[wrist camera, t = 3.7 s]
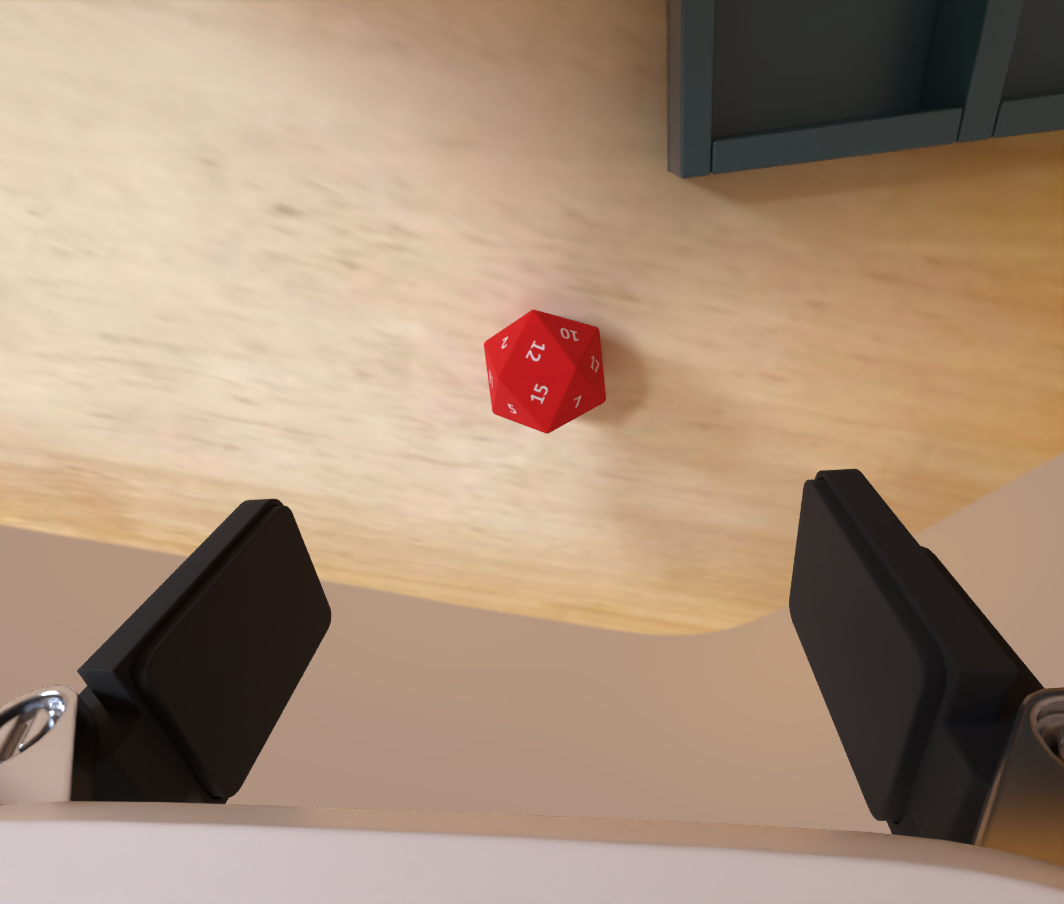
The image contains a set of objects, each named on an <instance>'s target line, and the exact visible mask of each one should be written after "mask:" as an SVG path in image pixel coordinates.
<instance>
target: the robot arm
mask: <svg viewBox="0 0 1064 904" xmlns="http://www.w3.org/2000/svg"><path fill="white" fill-rule="evenodd" d="M789 608H790V614H791V619H792V622H793V624H794V627H795V629H796V632H797V634H798V636H799V639H800V641H801V644H802V646H803V649H804V651H805V653H806V656H807V658H808V661H809V663H810V666H811V668H812V671H813V673H814V676H815V678H816V681H817V683H818V686H819V688H820V690H821V693H822V695H823V698H824V700H825V703H826V705H827V708H828V710H829V712H830V715H831V717H832V720H833V722H834V725H835V727H836V730H837V732H838V734H839V737H840V739H841V742H842V744H843V747H844V749H845V752H846V754H847V757H848V759H849V761H850V764H851V766H852V769H853V771H854V774H855V776H856V779H857V781H858V783H859V786H860V788H861V791H862V793H863V796H864V798H865V800H866V803H867V805H868V808H869V809H870V812H871V814H872V815H873V816H874V818H875V819H876V820H878V821H887V823H888V826H889V828H890V830H891V832H892V834H882V833H873V832H860V831H843V830H827V829H810V828H794V827H777V826H776V827H775V826H761V825H744V824H725V823H703V822H702V823H701V822H679V821H657V820H656V821H655V820H632V819H610V818H587V817H564V816H541V815H516V814H489V813H464V812H437V811H410V810H382V809H355V808H329V807H328V808H327V807H298V806H265V805H234V804H226V802H227V800H228V798H229V797H232V796H234V795H235V794H236V793H237V792H238V791H239V789H240V788H241V786H242V785H243V783H244V781H245V779H246V777H247V775H248V774H249V772H250V770H251V768H252V766H253V765H254V763H255V761H256V759H257V757H258V755H259V754H260V752H261V750H262V748H263V746H264V745H265V743H266V741H267V739H268V737H269V735H270V734H271V732H272V730H273V728H274V726H275V725H276V723H277V721H278V719H279V717H280V715H281V714H282V712H283V710H284V708H285V706H286V705H287V703H288V701H289V699H290V697H291V695H292V694H293V692H294V690H295V688H296V686H297V684H298V683H299V681H300V679H301V677H302V676H303V673H304V672H305V670H306V668H307V666H308V665H309V662H310V661H311V659H312V657H313V656H314V654H315V652H316V650H317V648H318V647H319V645H320V642H321V641H322V639H323V637H324V636H325V634H326V632H327V630H328V628H329V626H330V622H331V609H330V606H329V604H328V601H327V599H326V596H325V594H324V591H323V588H322V586H321V583H320V581H319V578H318V576H317V573H316V571H315V568H314V566H313V563H312V561H311V558H310V556H309V553H308V551H307V548H306V546H305V543H304V541H303V538H302V536H301V533H300V531H299V528H298V526H297V523H296V521H295V518H294V516H293V513H292V511H291V510H290V508H288V507H287V506H284V505H283V504H282V503H281V502H280V501H279V500H277V499H261V500H247V501H244V502H243V503H241V504H240V505H239V506H238V507H237V508H236V509H235V510H234V511H233V512H232V513H231V514H230V515H229V517H228V518H227V519H226V520H225V521H224V522H223V523H222V524H221V525H220V526H219V527H218V528H217V529H216V530H215V531H214V532H213V533H212V534H211V535H210V536H209V537H208V538H207V539H206V540H205V541H204V542H203V543H202V544H201V545H200V546H199V547H198V548H197V549H196V550H195V551H194V552H193V553H192V554H191V555H190V556H189V557H188V558H187V559H186V561H184V562H183V563H182V564H181V565H180V566H179V568H178V569H176V570H175V572H174V573H173V574H172V575H171V576H170V577H169V578H168V579H167V580H166V581H165V582H164V583H163V584H162V585H161V586H160V587H159V588H158V589H157V590H156V591H155V592H154V593H153V594H152V595H151V596H150V597H149V598H148V599H147V600H146V601H145V602H144V603H143V604H142V605H141V606H140V607H139V608H138V609H137V610H136V611H135V612H134V613H133V614H132V615H131V616H130V618H128V619H127V620H126V621H125V622H124V623H123V624H122V626H121V627H120V628H119V629H118V630H117V631H116V632H115V633H114V634H113V635H112V636H111V637H110V638H109V639H108V640H107V641H106V642H105V643H104V644H103V645H102V646H101V647H100V648H99V649H98V650H97V651H96V652H95V653H94V654H93V655H92V656H91V657H90V658H89V659H88V660H87V661H86V662H85V663H84V664H83V665H82V666H81V667H80V668H79V669H78V670H77V672H78V673H79V674H80V676H81V677H82V678H83V680H84V681H85V683H86V684H87V685H88V686H87V687H86V688H85V689H84V690H83V691H82V692H81V693H80V694H79V695H78V694H77V693H76V691H75V690H73V689H72V688H70V687H69V686H63V685H53V686H47V687H42V688H39V689H36V690H33V691H30V692H28V693H25V694H23V695H21V696H19V697H17V698H15V699H13V700H11V701H9V702H7V703H5V704H4V705H2V706H1V707H0V904H1064V688H1048V689H1045V688H1044V687H1043V686H1042V685H1041V684H1040V682H1039V681H1038V680H1037V679H1036V677H1035V676H1034V675H1033V674H1032V673H1031V671H1030V670H1029V669H1028V668H1027V666H1026V665H1025V664H1024V663H1023V662H1022V660H1021V659H1020V658H1019V657H1018V655H1017V654H1016V653H1015V652H1014V651H1013V649H1012V648H1011V647H1010V646H1009V644H1008V643H1007V642H1006V641H1005V640H1004V638H1003V637H1002V636H1001V635H1000V633H999V632H998V631H997V630H996V629H995V627H994V626H993V625H992V624H991V623H990V621H989V620H988V619H987V618H986V616H985V615H984V614H983V613H982V611H981V610H980V609H979V608H978V607H977V605H976V604H975V603H974V602H973V601H972V599H971V598H970V597H969V596H968V594H967V593H966V592H965V591H964V590H963V588H962V587H961V586H960V585H959V583H958V582H957V581H956V580H955V579H954V577H953V576H952V575H951V574H950V572H949V571H948V570H947V569H946V568H945V566H944V565H943V564H942V563H941V561H940V560H939V559H938V558H937V557H936V555H935V554H933V553H932V552H931V551H930V550H929V549H928V548H925V547H922V546H920V545H919V544H918V543H917V541H916V540H915V539H914V538H913V536H912V535H911V534H910V533H909V531H908V530H907V529H906V528H905V526H904V525H903V524H902V523H901V521H900V520H899V519H898V518H897V516H896V515H895V514H894V513H893V511H892V510H891V509H890V508H889V506H888V505H887V504H886V503H885V501H884V500H883V499H882V498H881V496H880V495H879V494H878V493H877V491H876V490H875V489H874V488H873V486H872V485H871V484H870V483H869V481H868V480H867V479H866V478H865V476H864V475H863V474H862V473H861V472H860V471H859V470H858V469H844V470H825V471H819V472H818V473H817V475H816V477H815V480H807V481H806V482H805V484H804V488H803V495H802V503H801V511H800V519H799V527H798V535H797V543H796V550H795V558H794V566H793V574H792V582H791V590H790V597H789Z"/></svg>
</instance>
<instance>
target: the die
mask: <svg viewBox="0 0 1064 904" xmlns="http://www.w3.org/2000/svg"><path fill="white" fill-rule="evenodd" d="M484 349H485V357H486V365H487V373H488V380H489V388H490V396H491V404H492V411H493V413H494V414H496V415H499V416H501V417H504V418H507V419H509V420H512V421H514V422H517V423H520V424H522V425H525V426H528V427H530V428H533V429H536V430H538V431H541V432H544V433H550V432H551V431H553V430H555V429H557V428H559V427H561V426H562V425H564V424H566V423H568V422H570V421H571V420H573V419H575V418H577V417H579V416H581V415H582V414H584V413H586V412H588V411H590V410H591V409H593V408H595V407H597V406H599V405H601V404H602V403H604V402H605V401H606V394H605V383H604V373H603V363H602V353H601V342H600V332H599V329H598V328H597V327H595V326H591V325H588V324H584V323H580V322H577V321H573V320H569V319H566V318H562V317H559V316H555V315H551V314H548V313H544V312H541V311H537V310H531V311H530V312H528V313H527V314H525V315H524V316H523V317H521V318H520V319H518V320H517V321H515V322H514V323H512V324H511V325H509V326H508V327H506V328H505V329H503V330H502V331H500V332H499V333H497V334H496V335H494V336H493V337H491V338H490V339H488V340H487V341H485V343H484Z"/></svg>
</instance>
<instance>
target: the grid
mask: <svg viewBox="0 0 1064 904" xmlns="http://www.w3.org/2000/svg"><path fill="white" fill-rule="evenodd" d="M1056 130H1064V0H667V170H668V172H671V173H673V174H675V175H677V176H679V177H681V178H683V179H685V178H693V177H700V176H707V175H709V174H710V173H711V174H714V175H716V174H724V173H731V172H739V171H747V170H754V169H762V168H770V167H778V166H785V165H793V164H801V163H808V162H816V161H824V160H832V159H839V158H847V157H855V156H863V155H870V154H878V153H886V152H893V151H901V150H909V149H917V148H924V147H932V146H940V145H947V144H952V143H963V142H971V141H978V140H986V139H988V138H1002V137H1010V136H1017V135H1025V134H1033V133H1040V132H1048V131H1056Z"/></svg>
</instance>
